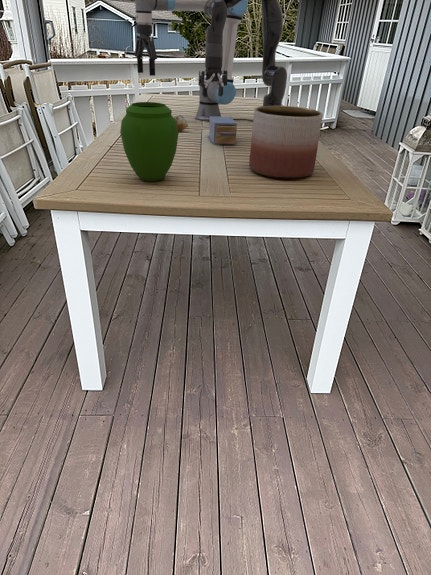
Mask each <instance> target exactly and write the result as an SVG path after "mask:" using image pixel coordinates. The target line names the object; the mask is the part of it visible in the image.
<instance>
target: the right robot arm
mask: <svg viewBox="0 0 431 575" xmlns="http://www.w3.org/2000/svg"><path fill="white" fill-rule="evenodd" d="M241 1H242V0H207V1H206V3H205V5H204V11H203V13H204V15H205V16H206V18H207V19H210V25H209V26H207V27H206V33H205V49H204V67H205V70H199V71H198V86H199V87H200V86H201V87H202V95H203V97H207V86H208V85H209V84H210V82H214V81H215V82H217V83H218V85H219V87H218V96H222V95H223V87H224V86H225V85H227V71H226V70H221V68H222V63H223V30H224V26H225V22H226V17H227V9H228V8H232V7H234V6H236V5H237V4H238V3H240V2H241ZM260 3H261V30H262V65H261V79H262V82H263V84H264V85H265V86H266V87H270V92H269V93H267V94H265V95H264V96H263V100H262V106H283V99H284V97H285V95H286V94H285V93H286V88H287V82H288V71H287V69H286V67H285V66H282V65H276V64H277V63H276V53H277V49H278V46H279V44H280V42H281V39H282V37H283V34H284V33H283V32H284V16H283V10H282V8H281V5H280V1H279V0H261V1H260ZM221 75H222V78H221ZM204 77H205V79H204Z"/></svg>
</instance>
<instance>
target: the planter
mask: <svg viewBox="0 0 431 575" xmlns="http://www.w3.org/2000/svg"><path fill="white" fill-rule="evenodd" d="M323 117H324V114H323V113H322V111H319V110H317V109H312V108H307V107H301V106H291V105H282V106H263V105H262V106H257V107H255V108H254V112H253V119H252V120H253V121H252V132H251V142H250V152H249V162H248V166H249V168H250V169H251V171H254V172H255V173H257V174H258V175H262V176H264V177H268V178H273V179H279V180H280V179H281V180H296V179H302V178H306V177H308V176H310V175H311V174H313V173H314V170H315V167H316V161H317V154H318V149H319V148H318V147H319V141H320V135H321V129H322V123H323Z"/></svg>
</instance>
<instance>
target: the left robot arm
mask: <svg viewBox="0 0 431 575" xmlns="http://www.w3.org/2000/svg"><path fill="white" fill-rule="evenodd" d="M206 1H207V0H134V4H135V5H134V6H135V22H136V28H135V29H136V34H139V35H136V41H135V49H134V57H136V58H135V59H136V65H137V73H138V74H143V73H144V63H143V62H144V61H143V54H144V51H145V50H146V52H147V55H148V68H149V76H150V77H151V76H152V77H153V76H156V60H158V55H157V51H156V50H157V49H156V46H155V40H154V36H151V35H153V25H152V24H153V12H159V11H161V12H163V11H164V12H166V11H167V12H204V5H205V3H206ZM248 4H249V2H248V0H242V1H241V2H240V3H238V4H237V5H236V6H234V7H232V8H228V9H227V17H226V22H225V26H224V30H223V63H222V68H221V70H226V71H227V85H225V86H224V87H223V95H222V96H218V87H219V85H218V83H217V82H215V81H214V82H210V84H209V85H208V86H207V97H203V95H202V87H201V86H199V94H198V95H199V100H198V101H199V103H198V104H199V105H198V107H197V111H196V114H195V119H196V120H199V121H202V122H203V121H204V122H210V116H212V117H222V114H221V110H220V107H219V105H224V106H226V105H229V104H231V103H232V102H233V101H234V99H235V97H236V94H237V90H236V87H235V84H234V77H233V75H232V74H233V67H234V66H233V65H234V60H235V50H236V44H237V43H236V42H237V36H238V29H239V28H238V27H239V25H240V23H241V22H242V21H243V20H242V19H243V15H244V14H245V13H246V12H247V10H248ZM205 77H206V76H204V79H205ZM221 78H222V75H221ZM232 119H233V120H234V121H248V122H253V120H254V119H249V118H232Z"/></svg>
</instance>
